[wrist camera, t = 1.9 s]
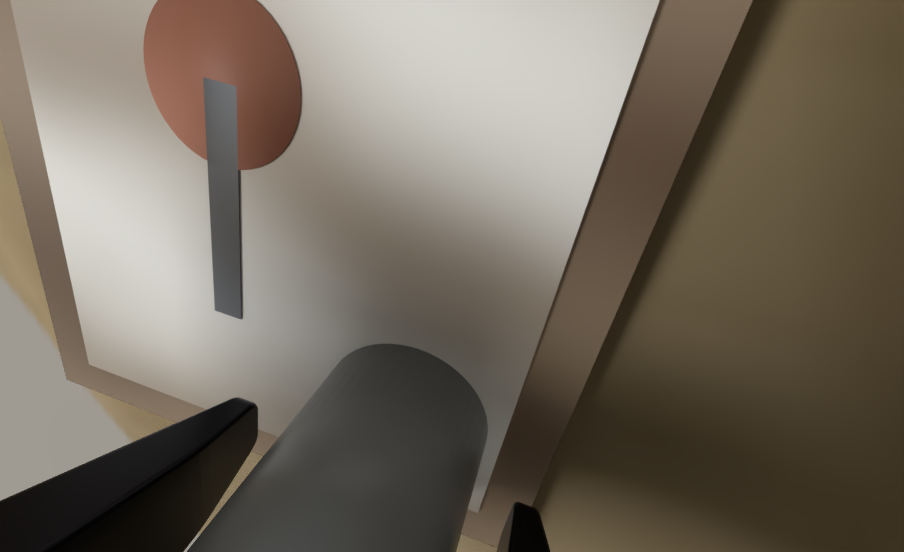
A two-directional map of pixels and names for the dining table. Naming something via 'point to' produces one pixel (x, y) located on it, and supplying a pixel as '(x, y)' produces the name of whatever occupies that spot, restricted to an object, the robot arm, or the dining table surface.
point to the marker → (364, 464)
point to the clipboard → (351, 193)
